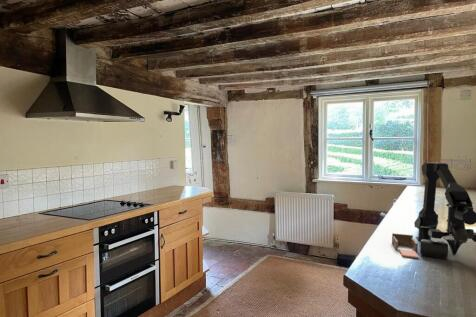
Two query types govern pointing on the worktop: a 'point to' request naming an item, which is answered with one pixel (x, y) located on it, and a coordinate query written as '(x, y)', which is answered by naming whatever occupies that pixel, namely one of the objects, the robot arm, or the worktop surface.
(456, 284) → the worktop surface
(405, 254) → the salmon pink flat panel
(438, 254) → the end cap
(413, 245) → the brown wooden open frame
